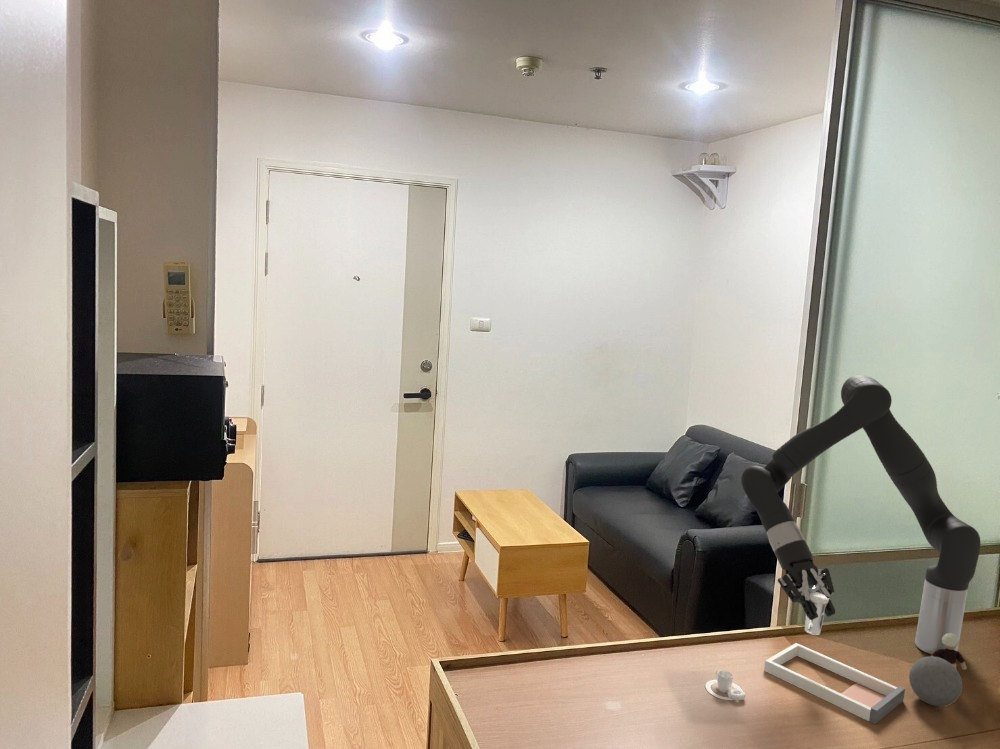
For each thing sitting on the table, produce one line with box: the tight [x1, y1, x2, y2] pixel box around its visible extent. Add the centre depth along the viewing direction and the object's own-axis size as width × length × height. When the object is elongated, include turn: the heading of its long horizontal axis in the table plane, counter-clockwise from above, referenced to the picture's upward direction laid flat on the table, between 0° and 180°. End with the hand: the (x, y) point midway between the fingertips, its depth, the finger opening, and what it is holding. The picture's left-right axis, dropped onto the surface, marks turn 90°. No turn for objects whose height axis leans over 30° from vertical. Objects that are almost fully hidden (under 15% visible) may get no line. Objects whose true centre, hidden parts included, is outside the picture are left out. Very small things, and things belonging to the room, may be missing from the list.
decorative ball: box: [908, 655, 963, 707], centre depth 169 cm, size 10×10×10 cm
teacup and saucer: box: [704, 670, 747, 701], centre depth 169 cm, size 9×8×4 cm
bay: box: [763, 642, 906, 725], centre depth 174 cm, size 14×25×3 cm, turn 41°
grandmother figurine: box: [931, 633, 967, 671], centre depth 176 cm, size 8×4×13 cm, turn 89°
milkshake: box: [804, 591, 835, 636], centre depth 176 cm, size 4×5×10 cm
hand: (823, 616), depth 174 cm, fingers closed on milkshake, 4 cm apart
